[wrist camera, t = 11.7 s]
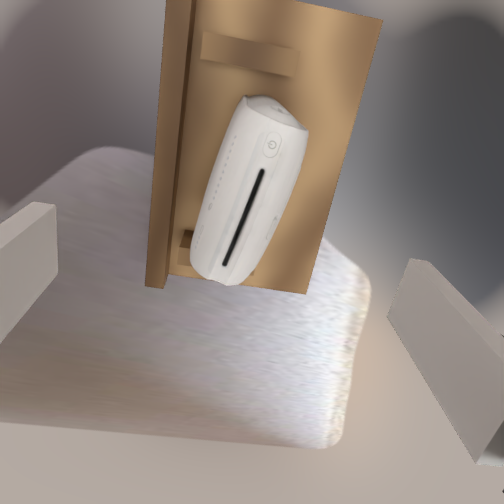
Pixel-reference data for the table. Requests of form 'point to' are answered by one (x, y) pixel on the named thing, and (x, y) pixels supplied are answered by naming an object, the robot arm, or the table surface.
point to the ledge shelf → (222, 109)
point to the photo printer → (247, 189)
